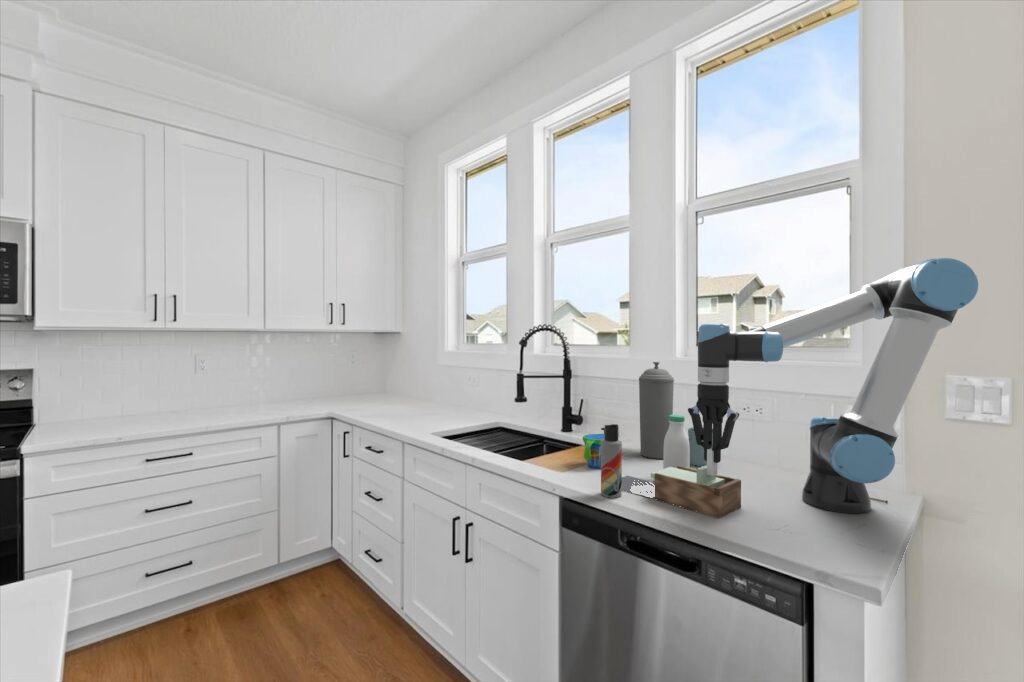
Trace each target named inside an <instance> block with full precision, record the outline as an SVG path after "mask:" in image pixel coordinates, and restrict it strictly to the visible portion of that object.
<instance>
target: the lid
mask: <svg viewBox="0 0 1024 682" xmlns="http://www.w3.org/2000/svg"><path fill="white" fill-rule="evenodd" d="M696 470H697V473H695V472H691V471H687V470H682V469H678V468H673V467H668V468H665V469H663V468H662V469H659V470H657V471H653V472H651V473H650V478H651V479H655V473H658V474H662V475H666V476H670V477H674V478H678V479H682V480H686V481H690V482H694V483H698V484H702V485H706V486H710V487H714V488H716V487H718V486H721V485H723V484H725V479H721V478H717V477H716V475H713V476H711V475H707V465H706V466H703V467H698V468H696Z"/></svg>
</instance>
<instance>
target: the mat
mask: <svg viewBox="0 0 1024 682" xmlns="http://www.w3.org/2000/svg"><path fill="white" fill-rule="evenodd" d="M634 480H635V481H634ZM638 480H639V481H638ZM633 482H635V484H634V483H633ZM637 482H638V483H639V484H640V485H642V486H643V484H644V485H647V484H646V483H645V482H647V483H648V484H649V485H651V486H653V485H652V484H650V483H649V482H652V483H653V484H654V485H655V481H650V480H646V479H642V478H640V477H639V478H638V477H634V476H630V475H625V476H622V490H624V492H626V491H627V493H629V492H631V491H630V489H631V486H633V485H635V486H637V485H639V484H638V483H637ZM640 482H642V483H643V484H642V483H640ZM632 484H633V485H632ZM640 485H639V486H640ZM653 487H654V486H653ZM646 492H647V491H646ZM650 492H651V491H650ZM640 493H641V492H640ZM647 493H648V492H647ZM651 493H652V492H651ZM630 494H632V492H631V493H630ZM649 498H650V497H649ZM649 498H648V499H649Z"/></svg>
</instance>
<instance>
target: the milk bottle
mask: <svg viewBox="0 0 1024 682" xmlns="http://www.w3.org/2000/svg"><path fill="white" fill-rule="evenodd" d="M685 419H686V418H685V415H683V414H673V415H669V422H670V426H669V429H668V431H667V433H666V436H665V439H664V456H663V459H662V460H663V462H662V463H663V464H662V465H663V467H662V469H665V468H668V467H673V468H677V466H681V467H686V468H690V469H691V466H690V465H691V464H690V445H689V436H688V434H687V432H686V430H685V429H686V428H685V423H686V422H685Z"/></svg>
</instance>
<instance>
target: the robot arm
mask: <svg viewBox="0 0 1024 682" xmlns="http://www.w3.org/2000/svg"><path fill="white" fill-rule="evenodd" d="M978 290H979V280H978V276H977V275H976V273H975V272H974V270H973V269H972V268H971V266H970V265H968V264H966V263H965V262H963V261H961V260H958V259H955V258H949V257H942V258H930V259H927V260H924V261H922V262H921V263H916V264H913V265H908V266H905V267H902V268H900V269H898V270H896V271H894V272H892V273H890V274H888V275H886V276H884V277H881V278H879V279H878V280H875V281H873V282H870V283H868V284H865V285H862V287H861V289H860V291H859V290H858V291H856V292H854V293H852V294H848V295H845V296H843V297H840V298H836V299H835V300H831V301H829V302H826V303H824V304H820V305H818V306H815V307H811V308H808V309H807V310H803V311H801V312H798V313H795V314H792V315H790V316H785V317H784V318H781V319H778V320H775V321H772V322H769V323H767V324H764V325H761V326H758V327H756V328H753V329H750V330H747V331H731V329H730V328H731V327H730V325H729V324H728V323H704V324H701V325H700V326H699V328H698V336H697V381H698V382H699V383H698V384H697V391H696V393H697V401H696V403H695V405H694V406H692V407H688V408H687V412H688V414H689V416H690V418H691V421H692V422H691V423H692V427H693V428H694V432H695V437H696V442H697V444H698V445H701V446H702V447H703V448H704V460H705V461H707V475H711V476H713V475H716V474H717V475H718V463H721V461H722V460H721V459H722V457H721V455H722V450H725V449H729V447H730V443H731V440H732V435H733V432H734V428H735V423H736V421H737V420H738V419H739V416H740V413H739V412H735V411H734V410H733V409H732V408H731V406H730V404H729V399H730V397H729V396H730V387H729V385H728V383H730V362H731V361H732V362H737V361H738V362H763V363H768V362H770V363H771V362H779V361H781V359H782V358H783V352H784V348H788V347H791V346H793V345H795V344H799V343H802V342H806V341H808V340H811V339H814V338H817V337H820V336H824V335H826V334H830V333H832V332H835V331H839V330H841V329H844V328H847V327H851V326H853V325H855V324H859V323H862V322H865V321H868V320H871V319H876V320H878V321H879V320H883V319H887V318H891V317H892V320H891V323H890V325H889V327H888V329H887V332H886V333H885V336H884V338H883V340H882V343H881V345H880V347H879V349H878V350H877V351H878V352H877V353H876V355H875V358H874V360H873V362H872V365H871V366H870V368H869V371H868V373H867V374H866V378H865V380H864V382H863V384H862V386H861V389H860V390H859V392H858V395H857V397H856V399H855V400H854V401H855V402H854V404H853V406H852V408H851V410H850V411H848V412H845V413H842V414H840V416H839V417H835V416H834V417H833V416H832V417H830V416H827V417H826V416H814V417H812V418H811V420H810V426H809V434H810V437H809V441H810V442H809V447H810V448H809V457H810V459H809V461H810V462H809V464H810V465H809V473H808V476H807V478H806V480H805V483H804V486H803V488H802V492H801V493H802V496H801V497H802V500H803V501H804V502H805V503H807V504H809V505H811V506H813V507H816V508H819V509H823V510H827V511H832V512H837V513H846V514H865V513H868V512H870V511H871V509H872V507H871V505H872V504H871V497H870V495H869V492H868V490H867V489H868V488H867V487H866V485H865V484H873V483H876V482H881V481H882V480H884V479H885V478H887V477H888V476H889V475H890V474H891V473H892V471H893V470H894V468H895V465H896V457H895V453H894V451H893V448H894V446H895V444H896V442H897V439H898V437H899V436H898V433H897V432H896V430H895V427H894V426H895V423H896V422H897V420H898V417H899V415H900V413H901V411H902V409H903V406H904V404H905V403H906V400H907V398H908V396H909V394H910V393H911V390H912V388H913V385H914V384H915V382H916V379H917V377H918V376H919V372H921V371H920V370H921V369H922V366H923V365H924V362H925V360H926V358H927V356H928V353H929V352H930V349H931V348H932V345H933V343H934V341H935V339H936V336H937V334H938V333H939V331H940V330H942V329H944V328H947V327H950V326H951V325H952V323H953V321H954V319H955V317H956V315H957V313H958V310H959V309H962V308H964V307H966V306H967V305H969V304H970V303H971V302H972V301H973V300H974V299H975V297H976V295H977V294H978ZM700 414H701V415H702V418H701V415H700ZM725 416H726V418H727V419H726V420H725V424H724V426H723V423H724V417H725ZM702 423H703V425H702ZM723 427H724V429H723ZM712 429H713V445H712ZM711 447H713V448H711Z"/></svg>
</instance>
